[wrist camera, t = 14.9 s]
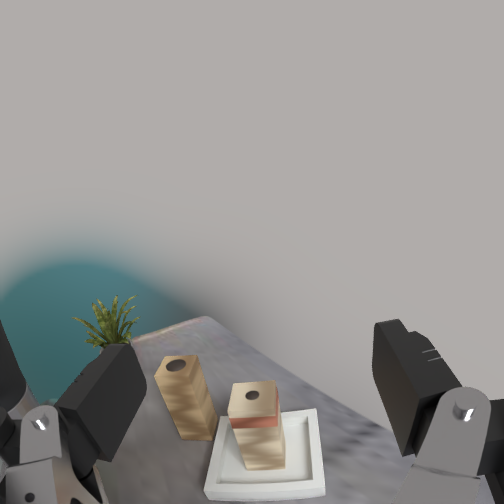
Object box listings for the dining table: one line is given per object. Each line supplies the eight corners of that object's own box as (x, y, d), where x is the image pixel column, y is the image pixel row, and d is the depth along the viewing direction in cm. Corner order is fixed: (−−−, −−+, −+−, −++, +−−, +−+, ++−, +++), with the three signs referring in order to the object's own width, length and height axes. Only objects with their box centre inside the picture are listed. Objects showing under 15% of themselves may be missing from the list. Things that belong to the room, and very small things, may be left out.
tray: (209, 499, 26) (203, 490, 25) (224, 427, 38) (220, 416, 38) (325, 495, 24) (325, 486, 24) (316, 419, 37) (316, 408, 36)
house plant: (177, 357, 59) (154, 284, 55) (140, 399, 46) (107, 317, 42) (126, 351, 63) (103, 285, 59) (88, 384, 51) (57, 312, 47)
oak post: (182, 439, 36) (153, 375, 33) (189, 418, 41) (165, 355, 38) (212, 440, 36) (188, 375, 33) (217, 419, 40) (196, 354, 37)
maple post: (246, 471, 29) (226, 411, 26) (250, 444, 34) (232, 382, 31) (285, 469, 29) (274, 408, 26) (286, 442, 33) (275, 379, 30)
